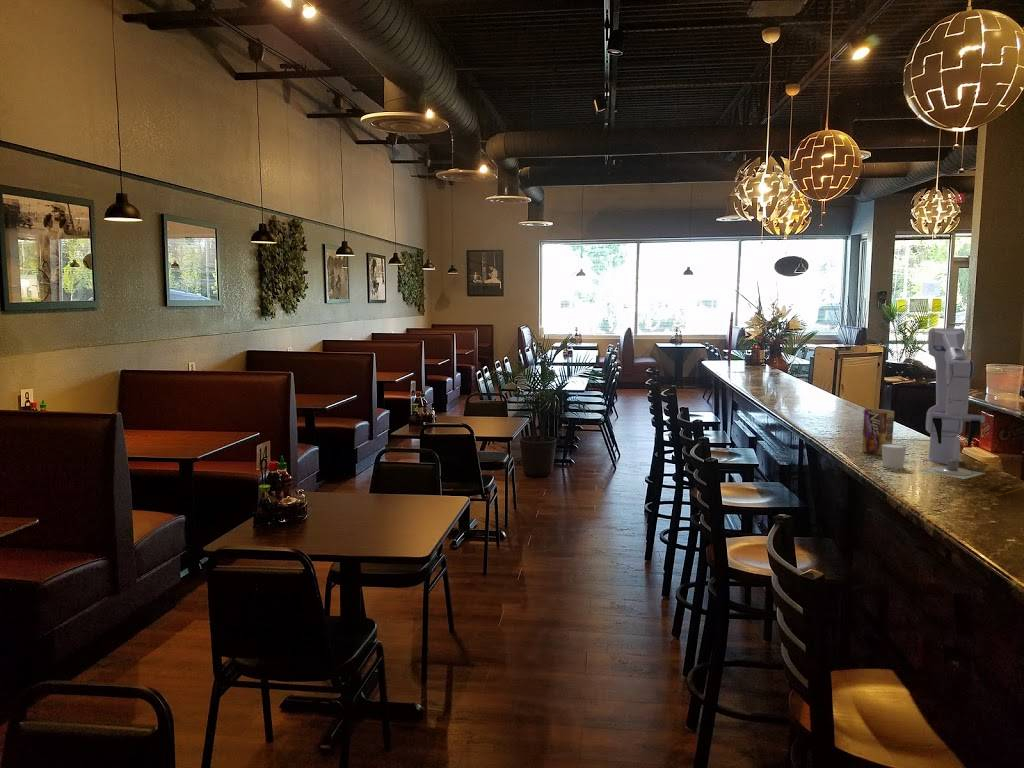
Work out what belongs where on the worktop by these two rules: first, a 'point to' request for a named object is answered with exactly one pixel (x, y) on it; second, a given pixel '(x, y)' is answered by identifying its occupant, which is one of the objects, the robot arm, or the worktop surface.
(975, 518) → the worktop surface
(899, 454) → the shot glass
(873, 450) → the candy box
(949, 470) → the lid
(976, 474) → the mat
